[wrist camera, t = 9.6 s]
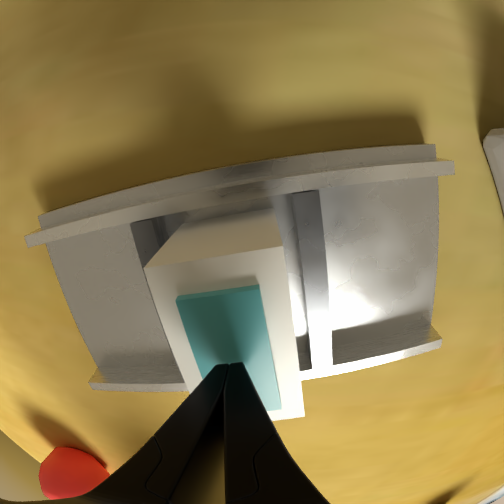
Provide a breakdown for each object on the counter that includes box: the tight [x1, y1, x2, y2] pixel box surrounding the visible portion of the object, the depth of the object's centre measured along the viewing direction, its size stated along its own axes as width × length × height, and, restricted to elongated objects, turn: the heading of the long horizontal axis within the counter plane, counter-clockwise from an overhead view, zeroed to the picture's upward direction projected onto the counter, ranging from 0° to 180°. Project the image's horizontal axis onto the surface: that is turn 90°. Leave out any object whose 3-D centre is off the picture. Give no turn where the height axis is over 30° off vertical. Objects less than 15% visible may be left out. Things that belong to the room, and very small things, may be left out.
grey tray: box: [24, 144, 455, 392], centre depth 14 cm, size 20×11×2 cm, turn 100°
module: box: [143, 208, 305, 421], centre depth 12 cm, size 4×7×5 cm, turn 10°
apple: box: [39, 447, 110, 500], centre depth 19 cm, size 8×8×8 cm
